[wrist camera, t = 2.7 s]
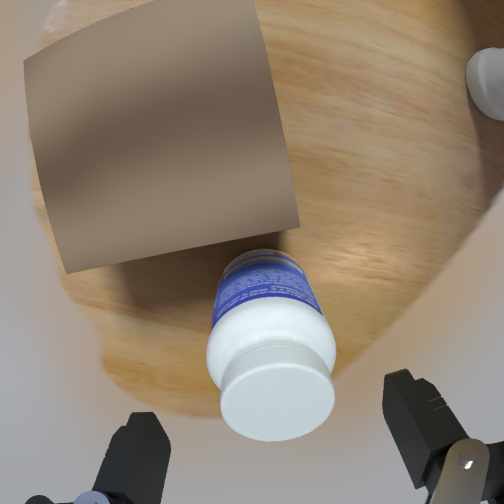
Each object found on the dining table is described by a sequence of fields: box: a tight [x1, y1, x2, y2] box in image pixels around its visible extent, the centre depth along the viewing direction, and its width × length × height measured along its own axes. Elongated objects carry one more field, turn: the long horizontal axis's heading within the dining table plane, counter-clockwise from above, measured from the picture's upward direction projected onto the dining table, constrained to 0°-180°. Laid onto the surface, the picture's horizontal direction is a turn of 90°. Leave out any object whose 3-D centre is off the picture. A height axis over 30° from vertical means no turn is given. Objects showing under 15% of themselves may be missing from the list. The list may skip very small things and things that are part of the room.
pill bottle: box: [206, 249, 336, 442], centre depth 14 cm, size 5×5×10 cm
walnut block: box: [24, 0, 300, 274], centre depth 13 cm, size 10×10×6 cm
